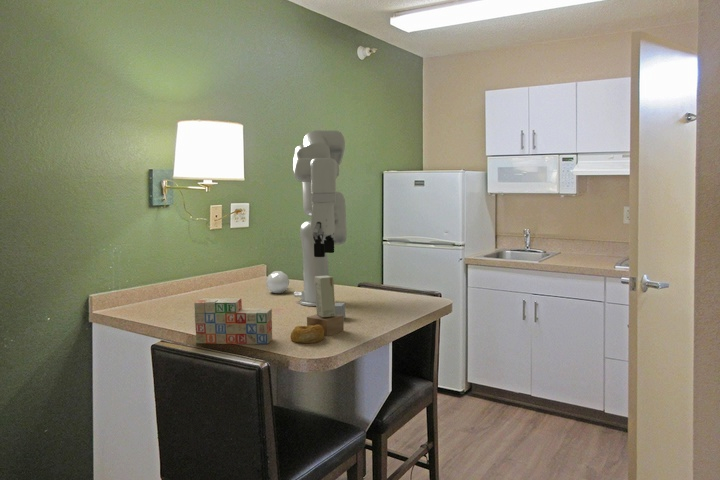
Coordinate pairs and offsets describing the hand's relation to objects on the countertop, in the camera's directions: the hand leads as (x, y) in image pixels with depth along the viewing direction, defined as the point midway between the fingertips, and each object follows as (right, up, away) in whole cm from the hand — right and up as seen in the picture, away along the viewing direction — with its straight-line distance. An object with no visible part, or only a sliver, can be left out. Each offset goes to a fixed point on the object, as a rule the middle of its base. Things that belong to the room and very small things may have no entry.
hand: (324, 254), depth 180 cm
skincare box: (0, -19, +2) cm, 19 cm away
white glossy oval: (-24, -18, +67) cm, 73 cm away
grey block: (+3, -22, +19) cm, 29 cm away
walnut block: (0, -24, +2) cm, 24 cm away
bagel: (-5, -25, -7) cm, 27 cm away
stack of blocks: (-26, -25, -8) cm, 37 cm away
